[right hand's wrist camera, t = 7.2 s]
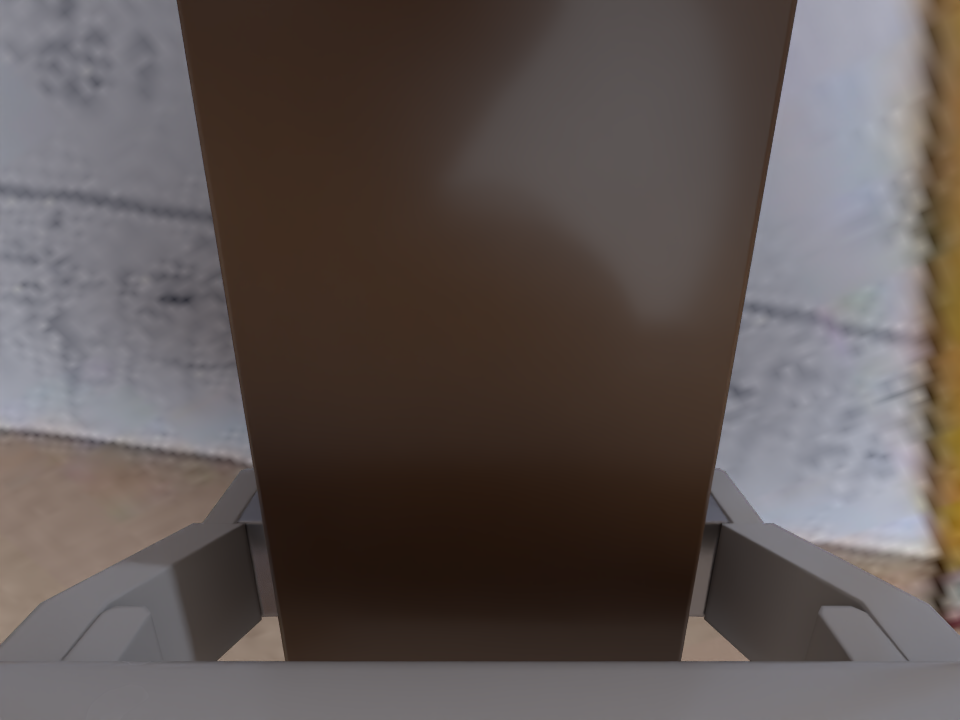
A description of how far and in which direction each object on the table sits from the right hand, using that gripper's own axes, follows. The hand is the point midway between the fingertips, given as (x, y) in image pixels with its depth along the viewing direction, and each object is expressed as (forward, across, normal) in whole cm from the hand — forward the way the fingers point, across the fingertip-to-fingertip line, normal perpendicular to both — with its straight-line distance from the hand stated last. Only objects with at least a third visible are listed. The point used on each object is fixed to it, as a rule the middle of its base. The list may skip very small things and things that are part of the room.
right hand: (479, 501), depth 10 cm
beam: (+3, 0, -31) cm, 31 cm away
